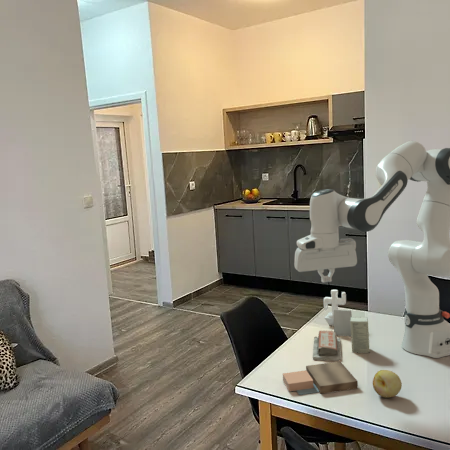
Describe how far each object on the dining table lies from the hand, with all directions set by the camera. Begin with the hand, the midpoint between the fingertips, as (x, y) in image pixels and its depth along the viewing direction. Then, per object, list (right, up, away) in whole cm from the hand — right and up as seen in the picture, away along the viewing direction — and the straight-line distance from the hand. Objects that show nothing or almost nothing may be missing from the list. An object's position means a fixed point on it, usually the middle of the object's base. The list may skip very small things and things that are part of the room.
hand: (326, 281), depth 148 cm
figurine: (+14, -24, +45) cm, 53 cm away
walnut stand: (+1, -32, -1) cm, 32 cm away
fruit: (+15, -33, -13) cm, 38 cm away
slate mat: (-7, -33, -2) cm, 33 cm away
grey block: (+14, -26, +34) cm, 45 cm away
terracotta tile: (-10, -32, -3) cm, 34 cm away
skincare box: (+17, -28, +18) cm, 37 cm away
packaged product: (+5, -29, +21) cm, 36 cm away
